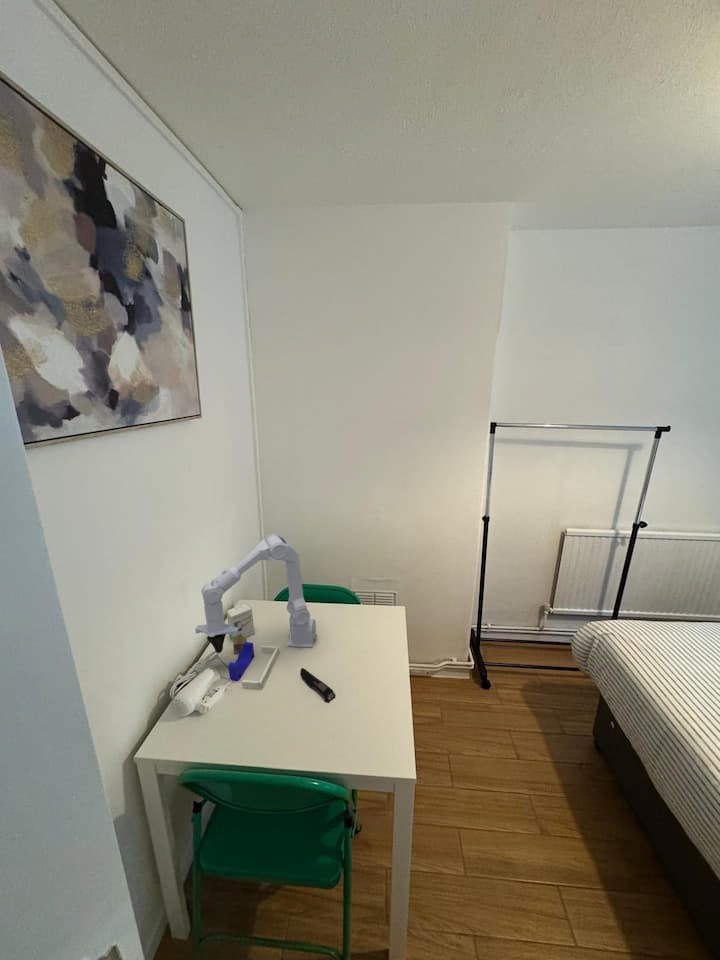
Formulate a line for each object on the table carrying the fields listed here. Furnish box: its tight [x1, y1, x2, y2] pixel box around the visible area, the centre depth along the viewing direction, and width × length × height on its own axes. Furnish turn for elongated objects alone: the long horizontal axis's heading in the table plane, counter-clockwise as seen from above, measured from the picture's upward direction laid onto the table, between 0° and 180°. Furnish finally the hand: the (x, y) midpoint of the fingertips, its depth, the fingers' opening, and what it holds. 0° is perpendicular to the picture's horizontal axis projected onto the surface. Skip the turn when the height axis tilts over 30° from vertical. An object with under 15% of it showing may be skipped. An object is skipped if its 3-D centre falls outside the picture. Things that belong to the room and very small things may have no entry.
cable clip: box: [227, 641, 255, 682], centre depth 130 cm, size 12×4×6 cm, turn 170°
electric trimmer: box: [299, 667, 336, 703], centre depth 121 cm, size 4×16×3 cm, turn 44°
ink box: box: [226, 603, 256, 643], centre depth 147 cm, size 9×5×12 cm, turn 129°
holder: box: [241, 645, 280, 690], centre depth 130 cm, size 6×18×2 cm, turn 173°
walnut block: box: [232, 637, 248, 655], centre depth 140 cm, size 4×4×4 cm
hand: (219, 651), depth 130 cm, fingers closed
